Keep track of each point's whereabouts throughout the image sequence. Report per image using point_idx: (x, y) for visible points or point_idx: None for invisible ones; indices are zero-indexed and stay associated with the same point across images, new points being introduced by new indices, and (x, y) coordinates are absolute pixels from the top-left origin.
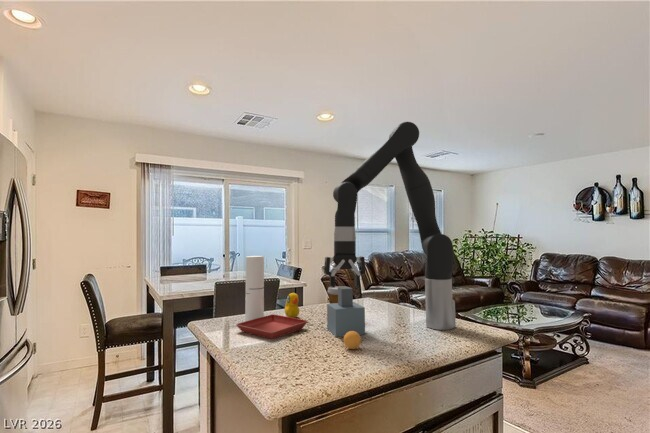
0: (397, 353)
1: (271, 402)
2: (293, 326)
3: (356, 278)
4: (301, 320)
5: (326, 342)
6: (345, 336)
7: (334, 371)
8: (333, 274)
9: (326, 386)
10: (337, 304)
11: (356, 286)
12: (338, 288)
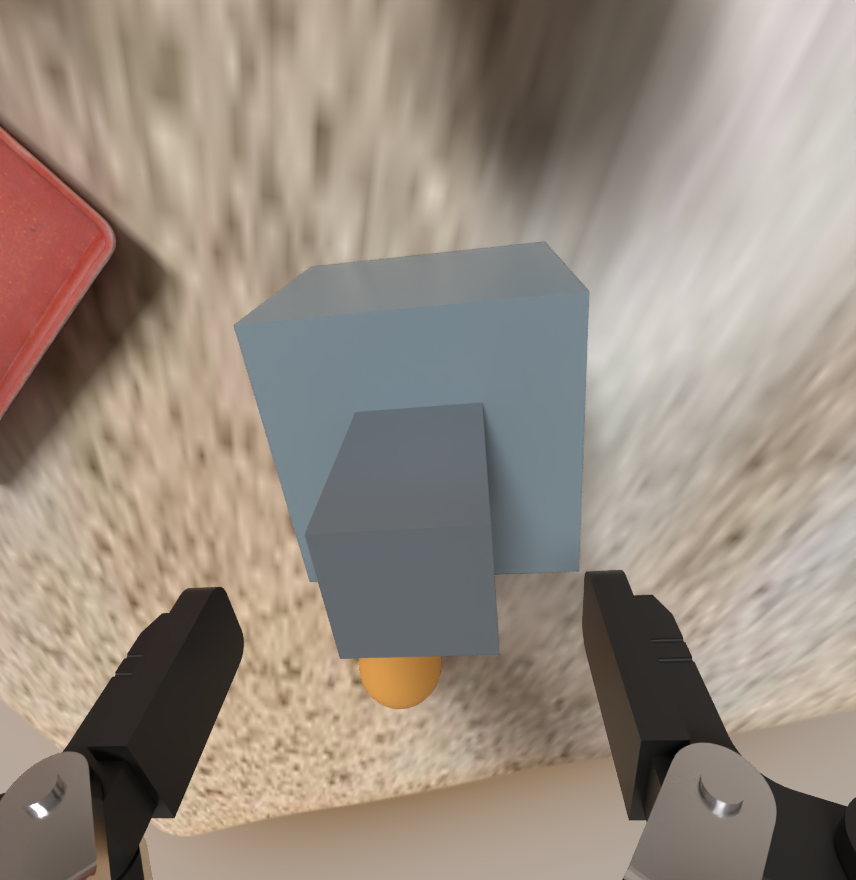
0: (569, 698)
1: (168, 831)
2: (39, 359)
3: (616, 761)
4: (51, 184)
5: (293, 536)
6: (363, 684)
7: (308, 760)
8: (122, 874)
9: (282, 809)
10: (350, 394)
11: (583, 631)
12: (314, 546)
